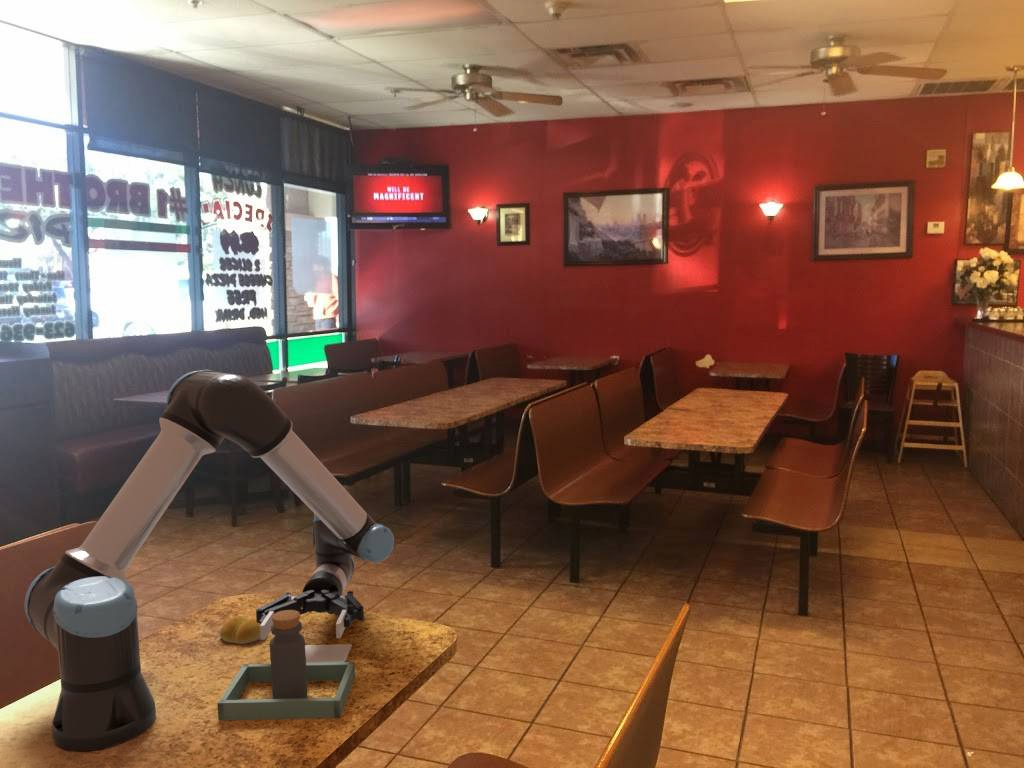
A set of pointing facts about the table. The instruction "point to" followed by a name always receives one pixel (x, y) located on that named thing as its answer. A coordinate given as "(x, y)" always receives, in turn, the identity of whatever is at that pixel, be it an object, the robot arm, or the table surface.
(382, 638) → the table surface
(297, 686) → the bottle
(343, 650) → the tile
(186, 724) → the table surface
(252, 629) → the bread roll
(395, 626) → the table surface
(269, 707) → the green rectangular frame
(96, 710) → the robot arm
